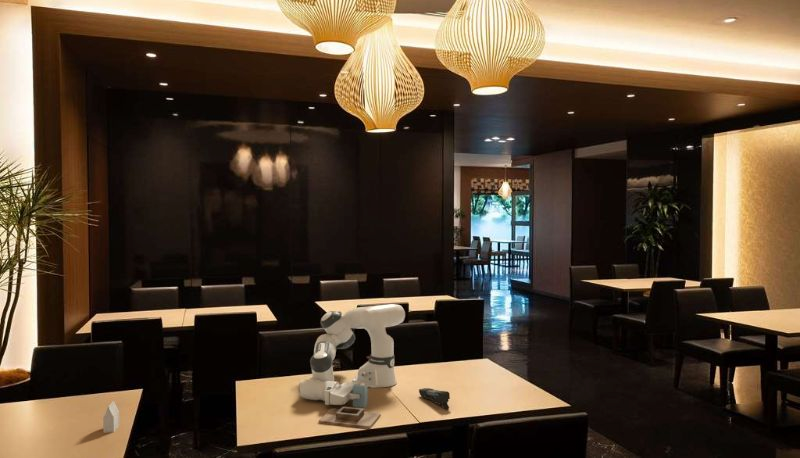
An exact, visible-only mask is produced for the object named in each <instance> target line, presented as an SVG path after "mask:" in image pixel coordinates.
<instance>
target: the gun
mask: <svg viewBox="0 0 800 458" xmlns="http://www.w3.org/2000/svg"><path fill="white" fill-rule="evenodd" d="M418 393H419V396H420V397H422V398H424V399H427V400H431V401H432V402H433V404H438V405H439V407H442V409H443V410H445V411H446V410H449V409H450V406H449V405H448V402H449V400H450V399H451V397H450V395H451V394H450V392H449V391H447V390H438V389H434V388H428V387H424V388H419V389H418Z"/></svg>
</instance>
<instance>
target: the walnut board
mask: <svg viewBox="0 0 800 458" xmlns="http://www.w3.org/2000/svg"><path fill="white" fill-rule="evenodd" d="M381 416H382V415H381V413H379V412H369V411H365V408H362V407H353V406H352V407H351V406H349V407H348V406H342V407H340V408H333V407H332V408H330V409H329V410H328V411H327V412H326V413H325V414H324V415H323V416H322V417H321V418H319V419H318V424H323V423H328V424H327V425H332V424H336V425H335V426H341V425H343V426H342V427H349V426H354V427H353V428H358V427H363V428H362V429H367V428H370V429H371V428H372V427H373V426H374V425H373V424H376V422H377V421H378V420H379V418H380V417H381Z"/></svg>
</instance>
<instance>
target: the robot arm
mask: <svg viewBox="0 0 800 458" xmlns="http://www.w3.org/2000/svg"><path fill="white" fill-rule="evenodd" d="M405 318H406V311H405V309H404V308H403V306H402V305H400V304H396V303H394V304H393V303H391V304H390V303H389V304H381V305H380V304H379V305H369V306H361V307H359V306H358V307H354V308H352V309H349V310H347V311H346V312H345V313H342V311H340V310H339V311H337V310H331V311H328V312H326V313H325V314H324V315H323V316H322V317H321V319H320V322H319V323H320V325H321V327H322V329H324V331H325V332H326V333H324V334H321V335H319V336H318V337H317V339H316V341H315V344H314V349H313V355H312V356H311V358H310V360H309V363H310V368H311V374H312V377H311V378H309V379H302V380H300V382H299V385H298V392H299V396H300V397H301V398H303V399H306V400H312V401H323V402H324V405H325V406H330V405H333V406H343V405H346V403H348V401H350V400H353V399H359V398H360V397H361V396H360V394H358V393H357V394H353V385H354V384H361V383H365V384H366V385H367V388H371V389H376V388H388V387H393V386H394V385H397V383H398V382H397V378H396V373H395V354H394V351H395V350H394V347H395V345H394V344H395V343H394V338H393V337H391V335H389V334H387V330H386V328H390V327H394V326H398V325H400V324H401V323H403V322H404V321H405ZM352 329H358V330H359V329H364V330H365V331H367V333H368V335H369V337H370V343H371V346H370V347H371V348H370V349H371V350H370V351H371V354H369V355H367V356H366V359H368V361H366V362H365V363H364V364H363V365H362V366H360V367H359V368H358V371H357V374H356V375H357V376H355V377H353V379H352V381H345V382H343V383H339V381H335V376H334V369H333V361H334V360H335V357H336V352H337V350H340V349H341V350H343V349H344V350H345V349H347V348H350V347H351V346H352V345H354V343H355V340H356V335H355V333H354V331H352Z"/></svg>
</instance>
